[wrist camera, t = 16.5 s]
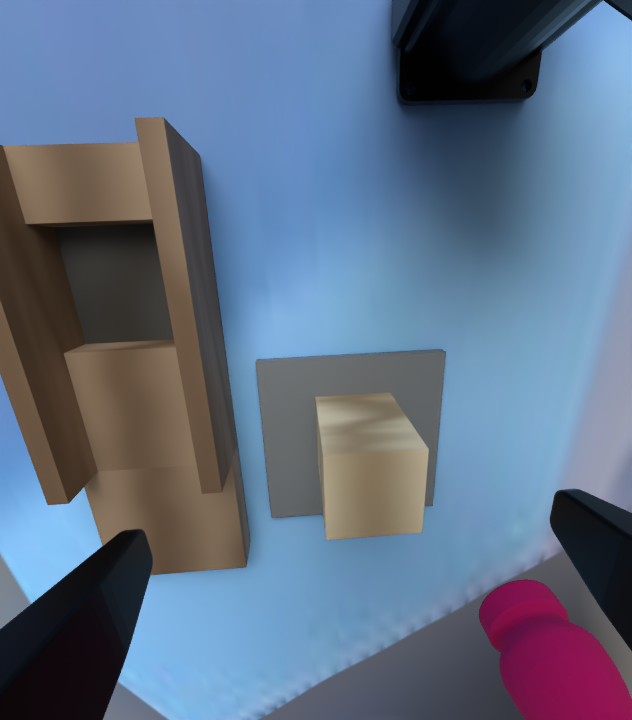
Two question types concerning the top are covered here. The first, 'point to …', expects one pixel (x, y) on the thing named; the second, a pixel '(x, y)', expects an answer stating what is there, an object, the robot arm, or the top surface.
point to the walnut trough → (122, 342)
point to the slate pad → (334, 378)
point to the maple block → (369, 467)
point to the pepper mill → (551, 658)
